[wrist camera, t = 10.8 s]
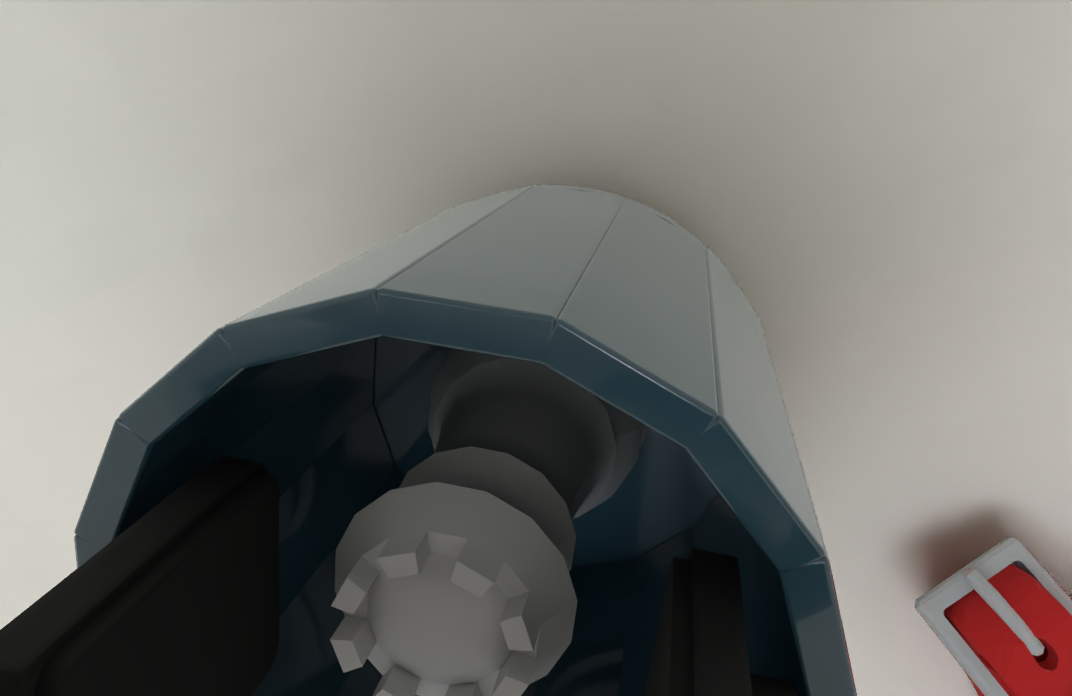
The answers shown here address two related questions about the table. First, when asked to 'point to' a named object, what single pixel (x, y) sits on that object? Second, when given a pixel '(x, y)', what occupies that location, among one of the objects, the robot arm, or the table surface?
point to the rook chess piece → (480, 533)
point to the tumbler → (529, 335)
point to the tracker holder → (1005, 623)
